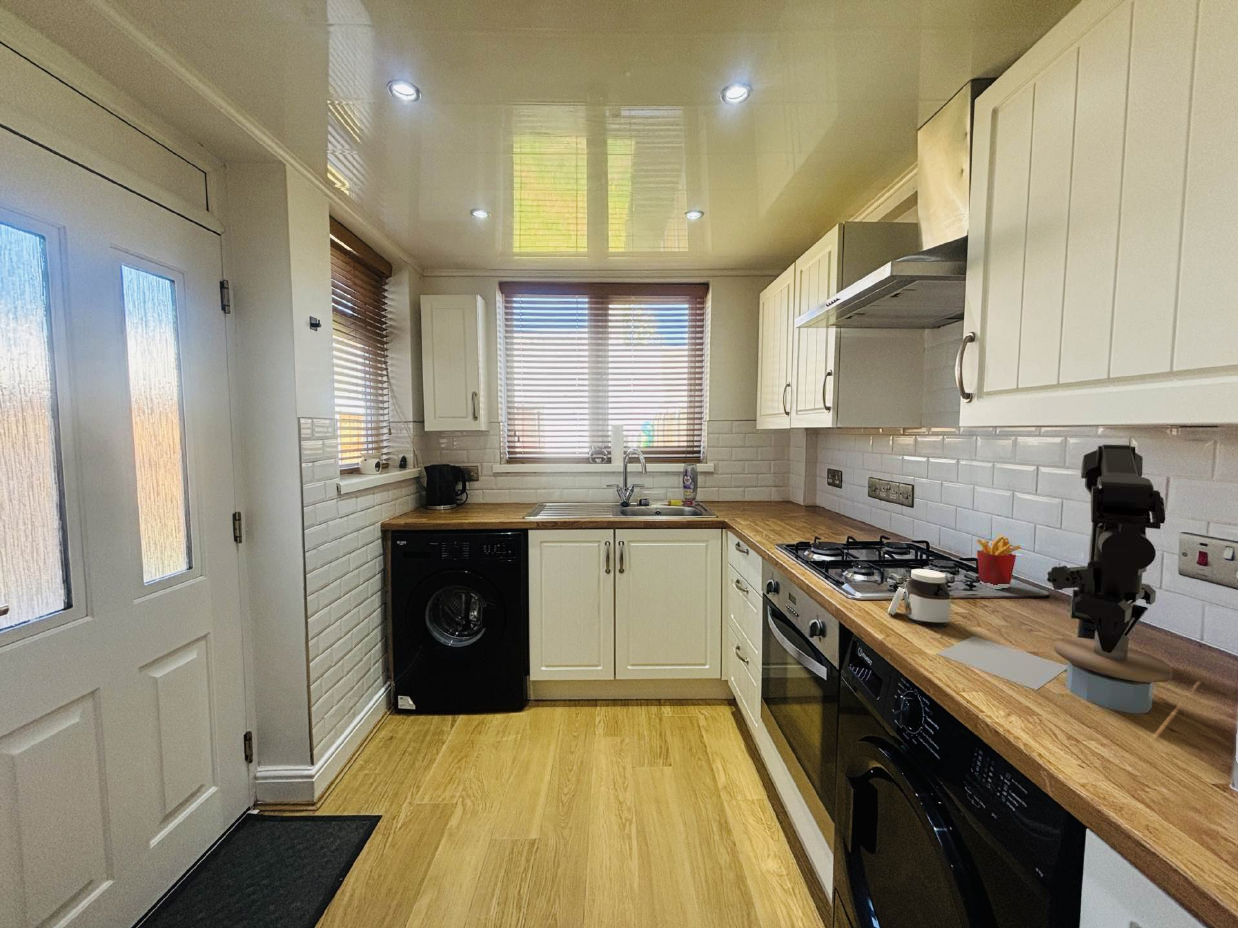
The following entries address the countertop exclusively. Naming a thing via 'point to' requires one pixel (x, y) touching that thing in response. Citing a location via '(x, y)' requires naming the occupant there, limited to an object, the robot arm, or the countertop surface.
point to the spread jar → (924, 598)
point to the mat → (1004, 662)
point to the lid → (1113, 659)
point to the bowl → (1109, 690)
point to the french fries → (996, 561)
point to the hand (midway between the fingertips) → (1110, 648)
